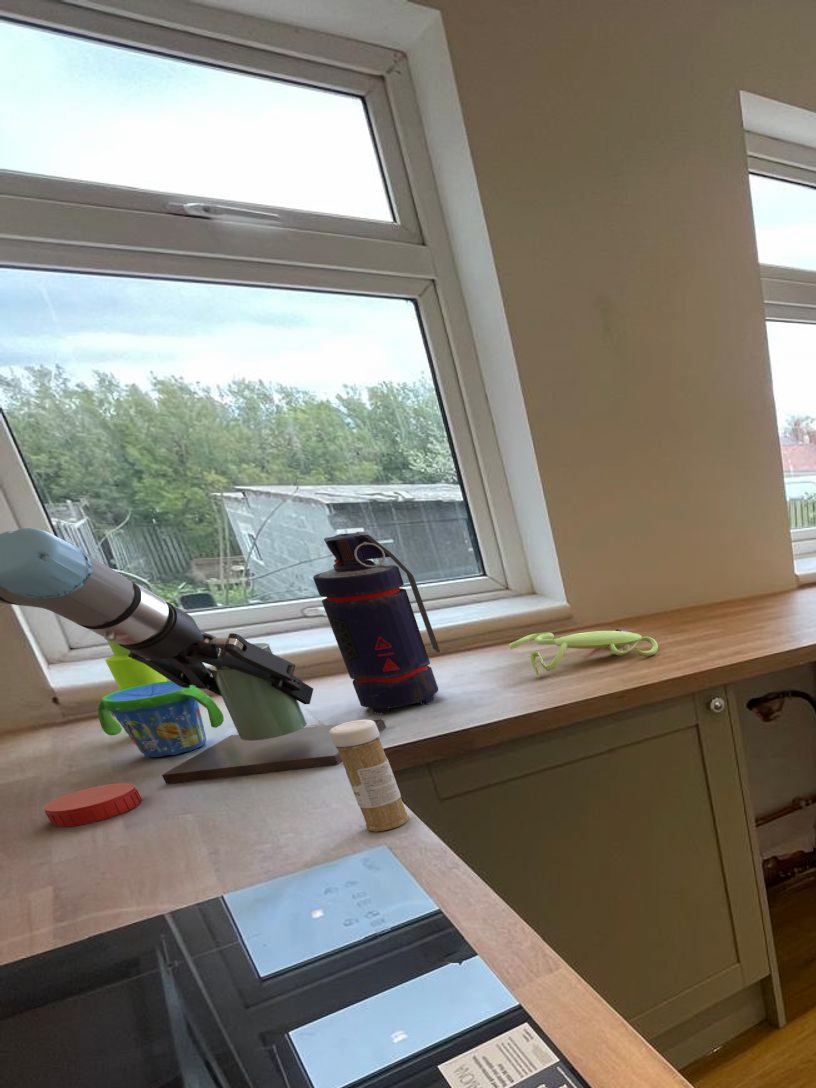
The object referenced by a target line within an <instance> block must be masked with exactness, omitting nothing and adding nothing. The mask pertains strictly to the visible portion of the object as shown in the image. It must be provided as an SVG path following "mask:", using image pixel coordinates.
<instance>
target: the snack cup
mask: <svg viewBox="0 0 816 1088" xmlns="http://www.w3.org/2000/svg"><path fill="white" fill-rule="evenodd" d="M199 705H201V706H203V707H204V708H206V710H207V713H208V719H209V722H210V726H211V728H215V729H216V728H219V727H220V726H221V725H223V723H224V721H225V719H224V718H225V717H224V714H223V712H222V710H221V709H220V708H219V706H218V704H217V703H216V702H215V701H214V700H213V699H212V698H211V697H210V695H209V694H207V693H206V692H205V691H203V690H201V689H200V688H197V687H196V686H195V685H190V687H189V688H183V687H180V686H178V685H177V684H175V683H174V682H172V681H171V680H168V681H164V682H157V683H150V684H145V685H140V686H135V687H130V688H126V689H123V690H120V689H119V690H117V691H116V690H115V691H113V692H111V693H108V694H106V695H104V696H103V697H102V698H101V700H100V702H99V703H98V705H97V706H98V707H97V714H98V720H99V724H100V727H101V729H102V730H103V732H104V733H105V734H107V735H108V736H117V735H119V734H121V732H122V731H123V730H124V731H125V733H126V734H127V735H128V737H129V738H130V739H131V741H132V742H133V744H134V745H135V746H136V747H137V749H138V750H139V752H141V753H142V754H143V756H145V757H146V758H160V757H165V756H177V755H179V754H184V753H187V752H191V751H195V750H197V749H198V748H201V747H202V746H203V745H204V744H205V743H206V742H207V736H206V735H207V734H206V731H205V726H204V722H203V717H202V715H201V710H200V706H199ZM113 715H114V716H113Z"/></svg>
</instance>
